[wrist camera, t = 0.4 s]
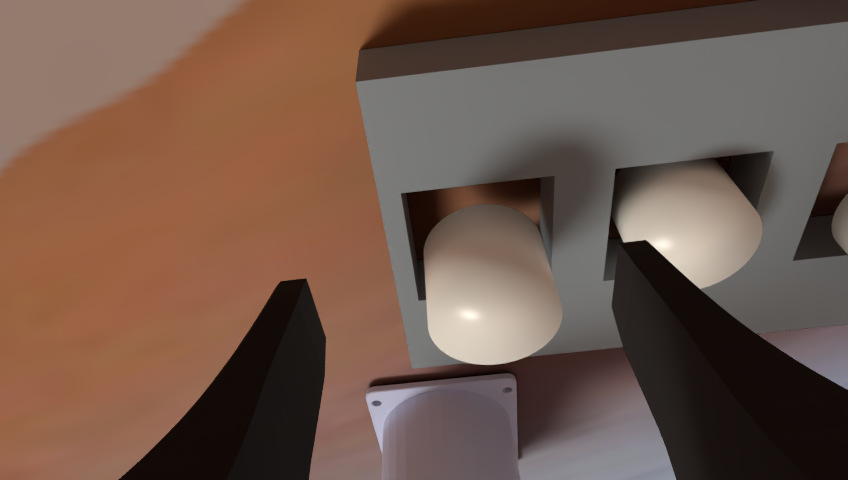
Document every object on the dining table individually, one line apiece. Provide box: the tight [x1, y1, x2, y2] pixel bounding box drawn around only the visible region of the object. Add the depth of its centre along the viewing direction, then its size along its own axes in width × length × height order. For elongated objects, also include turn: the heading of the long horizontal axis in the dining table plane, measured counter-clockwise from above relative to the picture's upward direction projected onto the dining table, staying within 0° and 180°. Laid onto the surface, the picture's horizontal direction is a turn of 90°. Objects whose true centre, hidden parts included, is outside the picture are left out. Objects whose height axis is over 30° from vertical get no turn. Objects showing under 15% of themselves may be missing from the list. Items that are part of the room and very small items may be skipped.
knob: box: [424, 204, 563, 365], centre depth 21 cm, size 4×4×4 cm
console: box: [356, 0, 848, 369], centre depth 23 cm, size 14×22×2 cm, turn 96°
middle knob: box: [611, 158, 763, 289], centre depth 22 cm, size 4×4×4 cm
